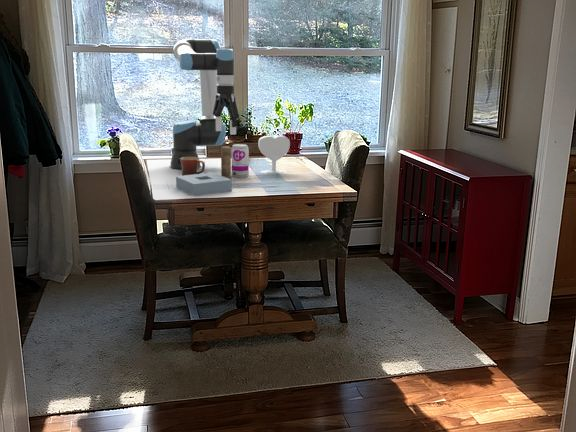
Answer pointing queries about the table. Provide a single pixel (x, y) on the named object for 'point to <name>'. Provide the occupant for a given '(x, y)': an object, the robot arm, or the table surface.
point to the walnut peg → (226, 162)
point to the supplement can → (240, 160)
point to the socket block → (203, 183)
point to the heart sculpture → (274, 149)
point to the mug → (191, 165)
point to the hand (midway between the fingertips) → (225, 132)
